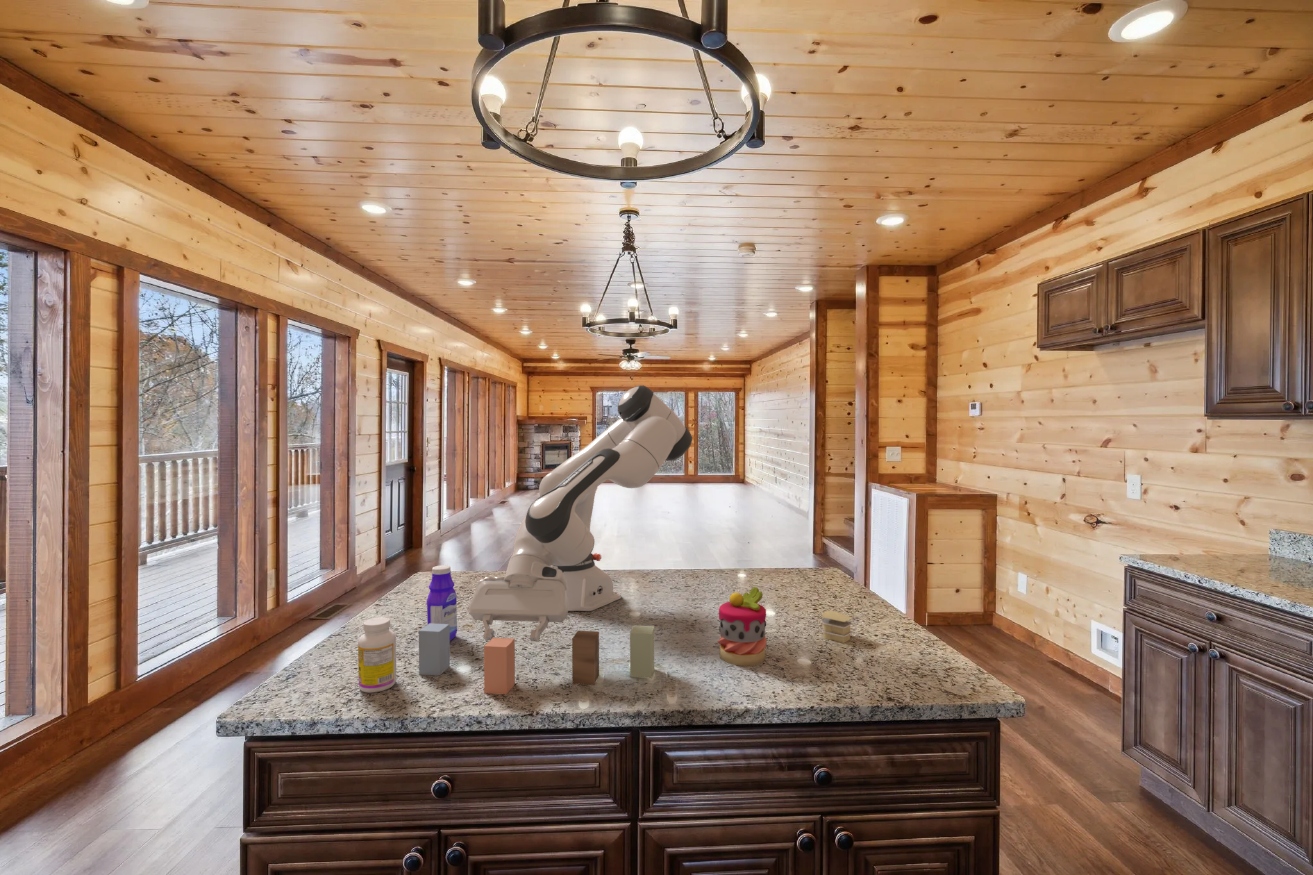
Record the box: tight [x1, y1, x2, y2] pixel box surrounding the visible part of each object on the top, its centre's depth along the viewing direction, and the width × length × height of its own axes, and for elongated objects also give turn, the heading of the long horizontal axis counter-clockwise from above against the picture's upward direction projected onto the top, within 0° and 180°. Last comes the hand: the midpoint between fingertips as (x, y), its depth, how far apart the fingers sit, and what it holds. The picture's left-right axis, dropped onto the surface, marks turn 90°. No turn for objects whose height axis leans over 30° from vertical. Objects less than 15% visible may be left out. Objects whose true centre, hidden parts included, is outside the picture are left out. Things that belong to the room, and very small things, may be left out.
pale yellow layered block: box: [821, 610, 853, 644], centre depth 139 cm, size 10×9×6 cm
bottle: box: [426, 564, 458, 641], centre depth 137 cm, size 7×6×17 cm
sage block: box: [629, 625, 655, 679], centre depth 119 cm, size 4×4×9 cm
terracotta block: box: [483, 637, 516, 695], centre depth 112 cm, size 4×4×9 cm
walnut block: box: [571, 630, 600, 686], centre depth 116 cm, size 4×4×9 cm
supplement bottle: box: [357, 616, 397, 694], centre depth 113 cm, size 7×7×13 cm
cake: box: [717, 586, 768, 667], centre depth 127 cm, size 10×11×15 cm
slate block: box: [418, 623, 451, 677], centre depth 120 cm, size 4×4×9 cm
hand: (510, 639), depth 115 cm, fingers open, 8 cm apart
